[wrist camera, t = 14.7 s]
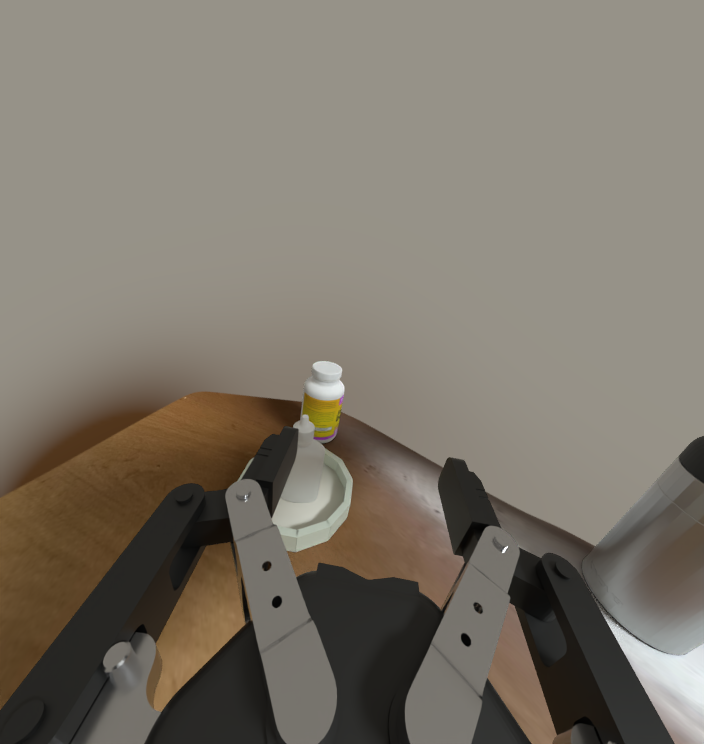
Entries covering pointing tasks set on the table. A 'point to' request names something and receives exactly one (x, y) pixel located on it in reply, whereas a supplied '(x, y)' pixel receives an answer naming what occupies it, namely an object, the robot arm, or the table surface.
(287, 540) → the dish
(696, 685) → the table surface
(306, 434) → the eye dropper bottle
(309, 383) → the supplement bottle
